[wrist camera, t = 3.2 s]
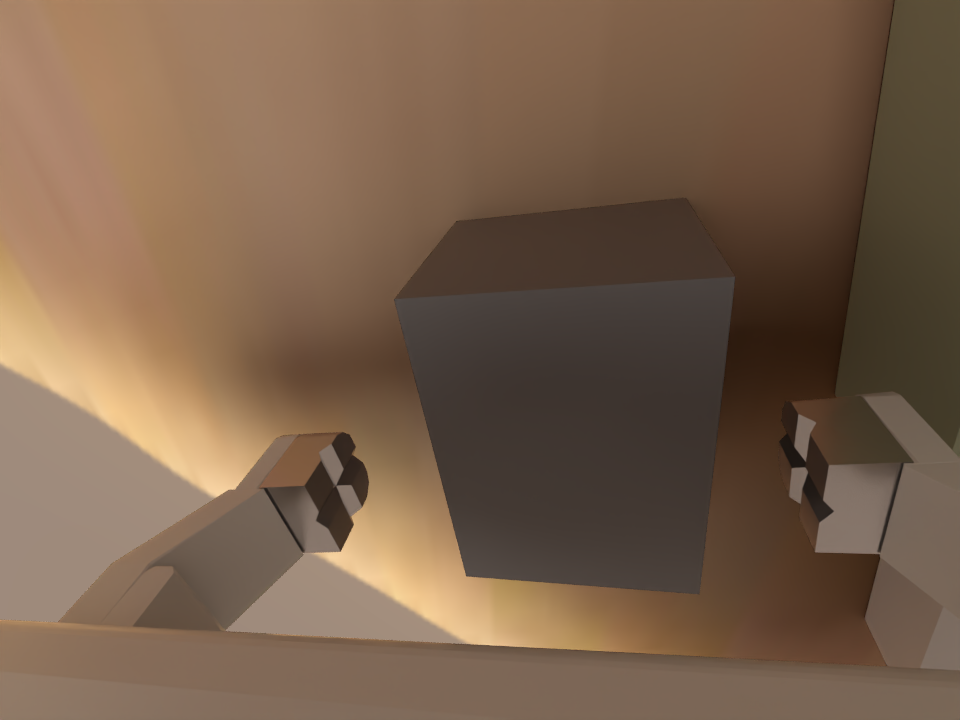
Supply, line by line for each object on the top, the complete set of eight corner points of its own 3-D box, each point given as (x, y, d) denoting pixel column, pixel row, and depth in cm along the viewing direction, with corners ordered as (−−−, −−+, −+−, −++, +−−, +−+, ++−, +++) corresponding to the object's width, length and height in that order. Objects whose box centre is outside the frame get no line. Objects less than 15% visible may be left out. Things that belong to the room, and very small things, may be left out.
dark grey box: (684, 196, 10) (735, 276, 7) (670, 448, 14) (699, 594, 10) (457, 219, 12) (393, 298, 8) (497, 446, 15) (466, 576, 11)
